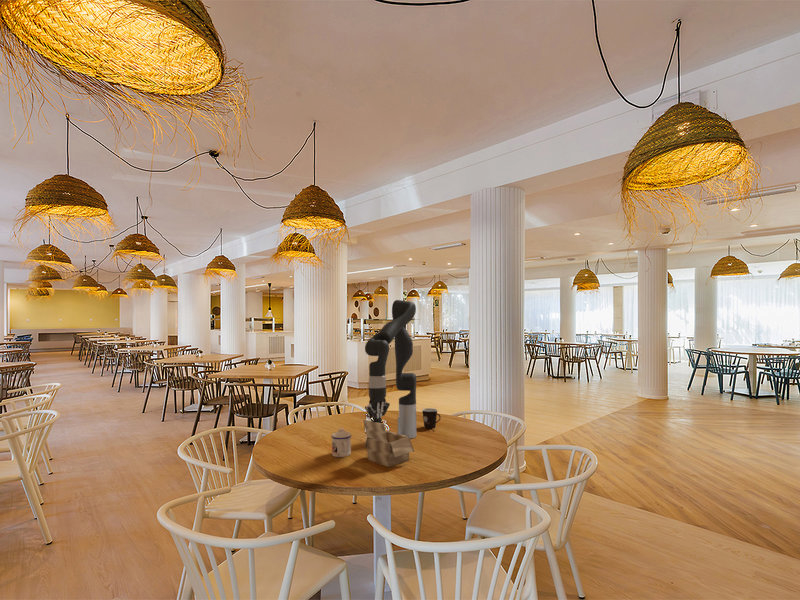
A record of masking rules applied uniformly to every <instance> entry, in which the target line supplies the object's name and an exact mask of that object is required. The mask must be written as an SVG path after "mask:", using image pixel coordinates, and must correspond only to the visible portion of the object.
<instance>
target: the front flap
mask: <svg viewBox="0 0 800 600" xmlns="http://www.w3.org/2000/svg"><path fill="white" fill-rule="evenodd" d="M362 421H363V425H364V430H365V435H366V438H367V437H370V438H373V439H377V440H380V441H383V442H388V441H387V436H386V432H387V431H386V428H385V424H384V423H382V422H381V423H377V422H374V420H373V421H372V420H369V419H365V418H364V419H362Z"/></svg>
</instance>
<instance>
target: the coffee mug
mask: <svg viewBox="0 0 800 600" xmlns="http://www.w3.org/2000/svg"><path fill="white" fill-rule="evenodd" d="M421 413H422V418H423V419H422V421H423V428H424V427H425V428H424V429H426V428H428V429H427V430H433V429H432V428H434V429H436V428H435V427H437V423H438V422H440V421H441V415H440V414H439V413H438V409H437V408H432V407H429V408H428V407H427V408H423V409H422V412H421ZM437 415H438V416H437ZM437 417H439V419H438V420H437Z"/></svg>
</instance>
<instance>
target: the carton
mask: <svg viewBox="0 0 800 600" xmlns="http://www.w3.org/2000/svg"><path fill="white" fill-rule="evenodd" d="M386 436H387V441H388V442H383V441H380V440H377V439H373V438H370V437H367V436H366V440H365V442H364V446H363V447H364V448H366V451H367V456H366V458H367V461H369V462H372V463H376V464H378V465H381V466H384V467H386V468H391V467H395V466H397V465H401V464H403V463H406V462H409V461H410V453H412V452H413V453H414V452H415V449H414V446H413V444H412V441H411V438H409V436H405V435H402V434H398V432H394V431H390V430H387V431H386Z"/></svg>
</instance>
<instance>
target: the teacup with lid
mask: <svg viewBox="0 0 800 600" xmlns="http://www.w3.org/2000/svg"><path fill="white" fill-rule="evenodd" d="M351 439H352V434H351V433H350V432H349V431H346V430H345V429H344V428H339V429H338V430H337V431H336V432H332V434H331V455H332V456H333V457H335V458H346V457H348V456H349V457H350V456H351V454H352V440H351ZM345 456H346V457H345Z"/></svg>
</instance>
